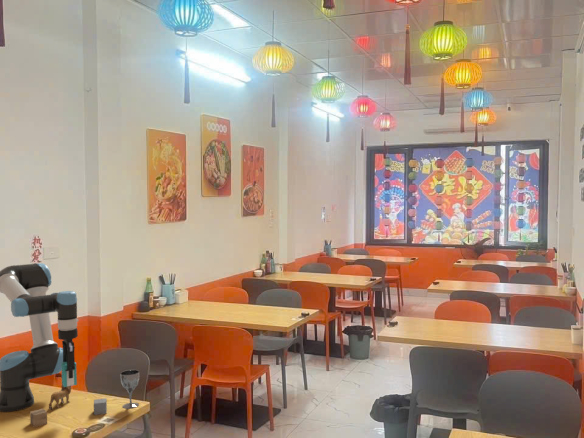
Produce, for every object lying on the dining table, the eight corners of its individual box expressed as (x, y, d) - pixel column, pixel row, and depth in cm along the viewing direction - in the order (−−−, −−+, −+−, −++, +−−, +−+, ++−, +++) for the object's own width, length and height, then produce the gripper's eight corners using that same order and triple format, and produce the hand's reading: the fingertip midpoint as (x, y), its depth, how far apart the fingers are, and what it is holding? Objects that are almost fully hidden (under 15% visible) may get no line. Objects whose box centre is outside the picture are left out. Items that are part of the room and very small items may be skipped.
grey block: (94, 411, 235) (94, 399, 234) (106, 409, 236) (106, 398, 236) (93, 415, 230) (93, 403, 230) (106, 413, 231) (106, 402, 231)
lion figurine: (63, 398, 250) (62, 379, 249) (74, 399, 249) (73, 379, 249) (45, 411, 235) (44, 390, 235) (57, 411, 235) (56, 391, 234)
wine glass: (128, 401, 245) (127, 368, 244) (143, 403, 242) (142, 370, 242) (117, 408, 237) (116, 374, 237) (133, 409, 235) (132, 375, 234)
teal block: (61, 383, 228) (61, 362, 227) (74, 381, 230) (73, 360, 230) (64, 387, 224) (63, 365, 223) (76, 384, 226) (76, 363, 226)
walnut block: (30, 423, 222) (30, 411, 222) (43, 420, 225) (42, 408, 225) (34, 427, 218) (33, 415, 218) (47, 423, 222) (46, 411, 221)
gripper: (81, 331, 221) (83, 387, 221) (73, 323, 236) (74, 376, 237) (62, 334, 217) (63, 391, 217) (54, 325, 232) (56, 379, 233)
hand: (69, 383), depth 227 cm, fingers closed on teal block, 5 cm apart
